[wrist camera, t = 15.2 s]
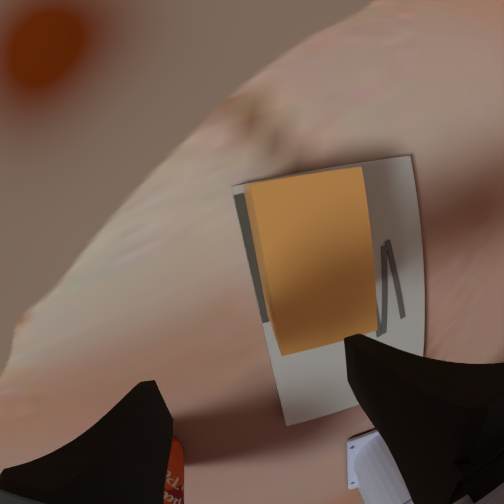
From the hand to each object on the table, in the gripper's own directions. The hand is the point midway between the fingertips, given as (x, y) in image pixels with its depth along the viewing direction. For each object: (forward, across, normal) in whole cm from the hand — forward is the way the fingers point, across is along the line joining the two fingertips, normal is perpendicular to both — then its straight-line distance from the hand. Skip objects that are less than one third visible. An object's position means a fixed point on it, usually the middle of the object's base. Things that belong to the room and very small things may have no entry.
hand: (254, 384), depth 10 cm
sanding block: (+8, -4, -3) cm, 10 cm away
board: (+9, -7, +2) cm, 12 cm away
